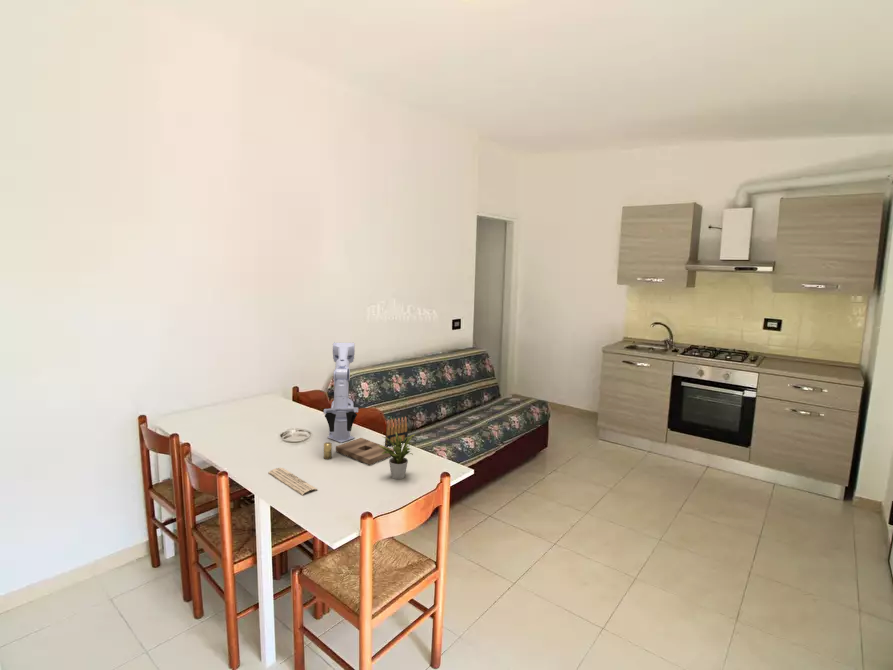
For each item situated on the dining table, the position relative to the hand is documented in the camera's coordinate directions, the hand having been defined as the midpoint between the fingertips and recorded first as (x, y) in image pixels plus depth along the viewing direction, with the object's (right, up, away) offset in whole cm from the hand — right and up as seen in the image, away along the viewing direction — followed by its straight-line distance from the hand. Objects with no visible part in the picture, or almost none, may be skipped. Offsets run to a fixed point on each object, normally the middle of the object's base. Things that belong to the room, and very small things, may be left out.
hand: (340, 431), depth 197 cm
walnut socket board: (+9, -11, +7) cm, 16 cm away
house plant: (+25, -14, -11) cm, 31 cm away
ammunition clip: (+20, -10, +20) cm, 30 cm away
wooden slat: (-13, -15, -20) cm, 28 cm away
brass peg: (-6, -11, +2) cm, 13 cm away
